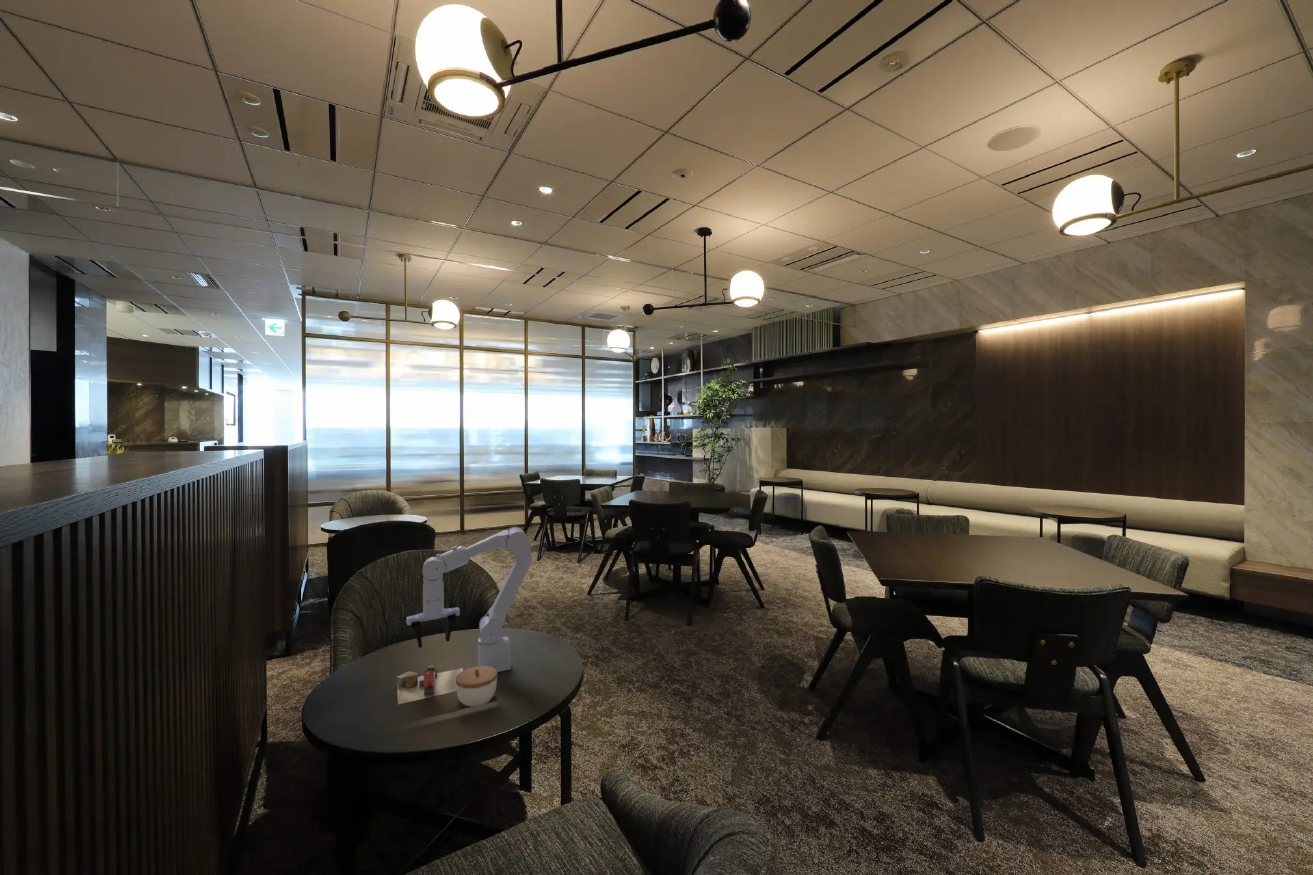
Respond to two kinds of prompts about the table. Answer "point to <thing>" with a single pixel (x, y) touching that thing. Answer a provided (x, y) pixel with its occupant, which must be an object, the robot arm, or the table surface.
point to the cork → (411, 680)
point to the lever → (428, 681)
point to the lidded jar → (476, 686)
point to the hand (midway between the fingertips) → (433, 643)
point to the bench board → (442, 685)
